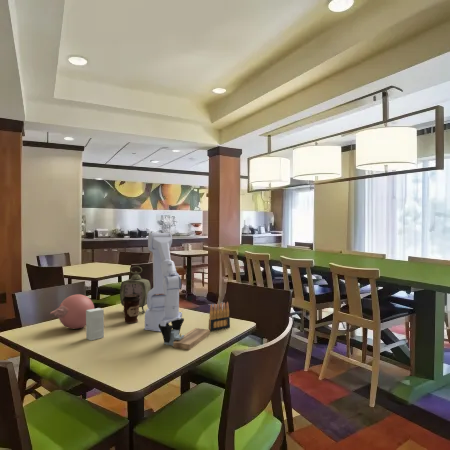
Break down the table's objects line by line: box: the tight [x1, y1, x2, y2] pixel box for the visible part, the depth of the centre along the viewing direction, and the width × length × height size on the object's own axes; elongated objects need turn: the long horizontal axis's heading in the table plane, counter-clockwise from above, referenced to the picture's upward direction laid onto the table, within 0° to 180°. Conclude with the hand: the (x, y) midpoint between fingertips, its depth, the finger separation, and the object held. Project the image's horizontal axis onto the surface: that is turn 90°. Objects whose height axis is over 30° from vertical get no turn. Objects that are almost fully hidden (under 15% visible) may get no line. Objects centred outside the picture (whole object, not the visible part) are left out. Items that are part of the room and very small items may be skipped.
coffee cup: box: [123, 294, 140, 324], centre depth 173 cm, size 9×8×13 cm
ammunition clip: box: [208, 301, 231, 332], centre depth 162 cm, size 11×2×12 cm, turn 124°
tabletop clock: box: [119, 265, 152, 315], centre depth 192 cm, size 14×9×25 cm, turn 80°
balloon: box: [49, 293, 95, 330], centre depth 160 cm, size 15×20×15 cm
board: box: [172, 327, 211, 350], centre depth 146 cm, size 7×20×2 cm, turn 160°
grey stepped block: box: [163, 328, 185, 347], centre depth 142 cm, size 7×4×5 cm, turn 70°
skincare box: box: [85, 307, 105, 341], centre depth 148 cm, size 6×4×12 cm
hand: (171, 339), depth 142 cm, fingers open, 7 cm apart
